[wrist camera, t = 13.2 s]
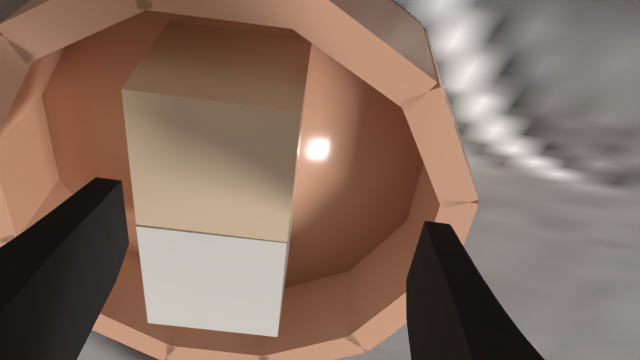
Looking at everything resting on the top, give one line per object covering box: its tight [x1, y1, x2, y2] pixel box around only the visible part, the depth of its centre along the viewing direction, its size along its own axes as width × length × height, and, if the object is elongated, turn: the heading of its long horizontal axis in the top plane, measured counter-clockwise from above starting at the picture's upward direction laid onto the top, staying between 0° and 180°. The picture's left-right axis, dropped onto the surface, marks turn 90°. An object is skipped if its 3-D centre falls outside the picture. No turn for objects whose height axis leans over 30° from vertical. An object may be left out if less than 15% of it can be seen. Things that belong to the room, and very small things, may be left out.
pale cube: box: [136, 167, 298, 337], centre depth 18 cm, size 4×4×4 cm
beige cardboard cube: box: [121, 22, 312, 242], centre depth 15 cm, size 4×4×4 cm
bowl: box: [0, 0, 479, 360], centre depth 17 cm, size 14×14×4 cm
